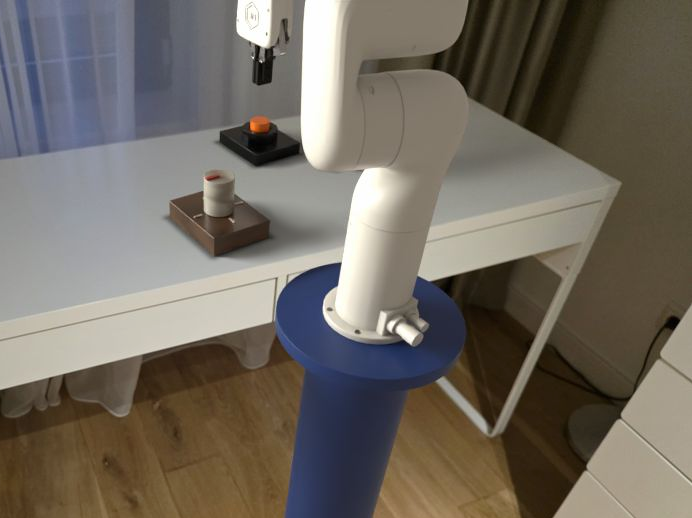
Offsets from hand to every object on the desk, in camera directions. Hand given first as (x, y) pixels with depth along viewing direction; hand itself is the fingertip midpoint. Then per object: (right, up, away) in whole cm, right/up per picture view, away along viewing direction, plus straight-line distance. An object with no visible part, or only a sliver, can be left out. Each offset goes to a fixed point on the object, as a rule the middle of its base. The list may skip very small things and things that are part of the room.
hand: (261, 82), depth 116 cm
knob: (-7, -26, -16) cm, 31 cm away
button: (0, -7, +5) cm, 8 cm away
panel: (-8, -28, -14) cm, 32 cm away
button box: (0, -9, +8) cm, 12 cm away
